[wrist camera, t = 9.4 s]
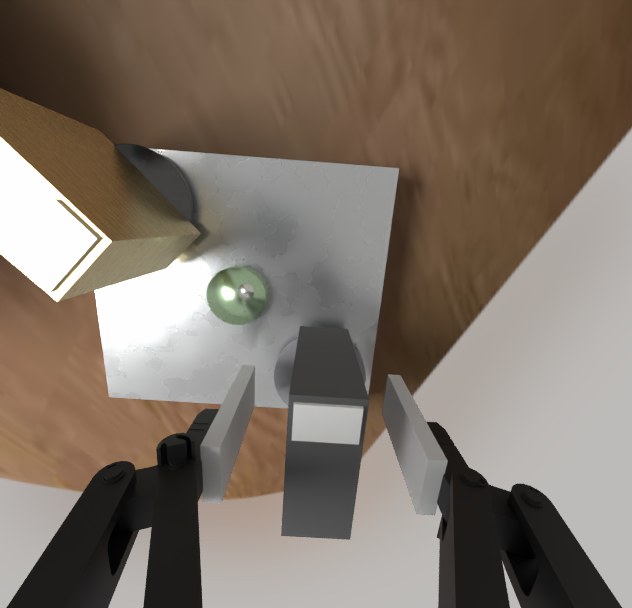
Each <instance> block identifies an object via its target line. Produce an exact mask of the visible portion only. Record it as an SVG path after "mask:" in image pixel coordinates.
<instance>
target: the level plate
mask: <svg viewBox="0 0 632 608" xmlns="http://www.w3.org/2000/svg"><path fill="white" fill-rule="evenodd" d="M150 150H153V151H155V152H157V153H159V154H160V155H162V156H164V157H165V158H167V159H168V160H169V161H170V162H171V163H172V164H174V165H175V166H176V168H177V169H178V170H179V171H180V172H181V174H182V175H183V177H184V178H185V180H186V182H187V184H188V186H189V189H190V192H191V195H192V199H193V207H194V214H193V222H192V225H193V226H194V227H195V228H196V229H197V230H198V231H199V232H200V233H201V234H200V235H199V236H198V237H197V238H196V239H195V240H194V241H193V242H192V243H191V244H190V245H189V246H188V247H187V248H186V249H185V250H184V251H183V252H182V253H181V254H180V256H179V257H178V258H177V259H176V260H175V261H174V262H173V263H172V264H171V265H170V266H169V267H168V268H167V269H164V270H161V271H157V272H154V273H151V274H148V275H144V276H141V277H138V278H134V279H131V280H128V281H124V282H121V283H118V284H115V285H111V286H108V287H105V288H101V289H98V290H95V295H96V303H97V310H98V318H99V325H100V333H101V340H102V348H103V355H104V362H105V370H106V377H107V385H108V392H109V397H116V398H132V399H147V400H163V401H179V402H195V403H211V404H222V403H223V401H224V399H225V397H226V395H227V394H228V392H229V390H230V388H231V386H232V384H233V382H234V380H235V378H236V376H237V374H238V372H239V371H240V369H241V367H242V365H253V366H255V405H254V406H258V407H274V408H288V406H287V405H286V404H285V403H284V402H283V400H282V399H281V398H280V396H279V394H278V392H277V390H276V387H275V383H274V369H275V366H276V362H277V359H278V357H279V355H280V353H281V352H282V350H283V349H284V348H285V347H286V346H287V345H288V344H289V343H290V342H291V341H293V340H294V339H296V338H298V335H299V329H300V326H307V327H322V328H337V329H348V331H349V334H350V337H351V341H352V344H353V346H354V347H355V348H356V349H357V351H358V352H359V354H360V356H361V358H362V360H363V363H364V367H365V372H366V381H365V387H366V391H367V394H368V393H369V386H370V378H371V371H372V364H373V356H374V349H375V342H376V334H377V327H378V320H379V312H380V305H381V298H382V290H383V283H384V276H385V268H386V261H387V254H388V246H389V239H390V232H391V224H392V217H393V210H394V202H395V195H396V188H397V180H398V173H399V168H389V167H377V166H364V165H351V164H339V163H326V162H313V161H300V160H288V159H275V158H262V157H250V156H237V155H224V154H212V153H199V152H186V151H173V150H161V149H150Z"/></svg>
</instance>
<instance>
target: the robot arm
mask: <svg viewBox="0 0 632 608" xmlns="http://www.w3.org/2000/svg"><path fill="white" fill-rule="evenodd" d="M254 405H255V366H253V365H242V367H241V369H240V371H239V372H238V374H237V376H236V378H235V380H234V382H233V384H232V386H231V388H230V390H229V392H228V394H227V395H226V397H225V399H224V401H223V403H222V405H221V407H220V409H205V410H203V411H202V412H201V413H199V414H198V415H197V416H196V418H195V420H194V421H193V424H191V426H190V428H189V430H188V431H187V433H176V434H173V435H170V436H168V437H166V438H165V439H163V440H162V441H161V442H160V443H159V444H158V447H157V449H156V450H157V461H158V465H156V466H153V467H149V468H144V469H138V470H135V467H134V464H132V463H130V462H128V461H120V462H115V463H112V464H110V465H107V466H105V467H104V468H103V469H101V470H100V471H98V473H97V474H96V475H95V476H94V477H93V478H92V480H91V481H90V483H89V484H88V486H87V487H86V489H85V490H84V492H83V493H82V495H81V497H80V498H79V500H78V501H77V503H76V504H75V506H74V507H73V509H72V510H71V512H70V513H69V515H68V516H67V518H66V519H65V521H64V522H63V524H62V525H61V527H60V528H59V530H58V531H57V533H56V534H55V536H54V537H53V539H52V540H51V542H50V543H49V545H48V546H47V548H46V549H45V551H44V552H43V554H42V555H41V557H40V558H39V560H38V561H37V563H36V564H35V566H34V567H33V569H32V570H31V572H30V573H29V575H28V576H27V578H26V579H25V581H24V582H23V584H22V585H21V587H20V588H19V590H18V591H17V593H16V594H15V596H14V597H13V599H12V601H11V602H10V603H9V605H8V606H7V608H108V606H109V604H110V601H111V599H112V596H113V594H114V591H115V588H116V586H117V584H118V581H119V579H120V577H121V574H122V572H123V569H124V566H125V564H126V561H127V559H128V557H129V554H130V552H131V549H132V547H133V544H134V542H135V539H136V537H137V534H138V532H139V530H141V529H145V528H149V527H152V530H151V540H150V549H149V559H148V569H147V578H146V588H145V598H144V607H143V608H202V587H201V567H200V545H199V522H198V500H199V498H200V496H201V493H202V501H203V502H211V503H221V502H222V500H223V497H224V494H225V491H226V488H227V485H228V482H229V479H230V476H231V473H232V470H233V467H234V464H235V461H236V458H237V455H238V453H239V450H240V447H241V444H242V441H243V438H244V435H245V432H246V429H247V426H248V423H249V420H250V417H251V414H252V411H253V408H254ZM382 415H383V418H384V421H385V424H386V427H387V430H388V433H389V435H390V438H391V441H392V444H393V447H394V450H395V453H396V456H397V459H398V462H399V465H400V467H401V470H402V473H403V476H404V479H405V482H406V485H407V488H408V491H409V494H410V496H411V499H412V502H413V505H414V508H415V511H416V514H423V515H435V513H436V508H437V504H438V506H439V508H440V511H441V513H442V518H441V522H440V526H439V530H438V535H437V538H439V539H440V557H439V558H440V559H439V561H440V562H439V606H438V608H510V606H509V600H508V594H507V588H506V582H505V577H504V570H503V564H504V566H505V569H506V571H507V574H508V576H509V579H510V581H511V584H512V586H513V588H514V591H515V594H516V596H517V599H518V601H519V603H520V606H521V608H622V607H621V606H620V604H619V603H618V601H617V600H616V598H615V597H614V595H613V594H612V592H611V591H610V589H609V588H608V586H607V585H606V583H605V582H604V580H603V579H602V577H601V576H600V574H599V573H598V571H597V570H596V568H595V567H594V565H593V564H592V562H591V561H590V559H589V558H588V556H587V555H586V553H585V552H584V550H583V549H582V547H581V546H580V544H579V543H578V541H577V540H576V538H575V537H574V535H573V534H572V533H571V531H570V529H569V528H568V526H567V525H566V523H565V522H564V520H563V519H562V517H561V516H560V514H559V513H558V511H557V510H556V508H555V507H554V505H553V504H552V503H551V501H550V500H549V499H548V498H547V497H546V496H545V495H544V494H543V493H541V492H540V491H539V490H537V489H535V488H533V487H531V486H528V485H525V484H515V485H513V487H512V490H511V492H509V491H506V490H503V489H500V488H497V487H494V486H491V485H489V484H488V482H487V481H486V479H485V478H484V477H483V476H482V475H481V474H479V473H478V472H477V471H475V470H473V469H471V468H469V467H468V465H467V464H466V462H465V460H464V459H463V457H462V456H461V454H460V453H459V451H458V449H457V448H456V446H454V443H453V441H452V440H451V439H450V436H449V435H448V433H447V432H446V430H445V429H444V428H443V427H442V426H440V425H439V424H438V423H437V422H426V421H425V419H424V417H423V415H422V413H421V412H420V410H419V408H418V406H417V404H416V403H415V401H414V399H413V397H412V395H411V394H410V392H409V390H408V388H407V386H406V384H405V383H404V381H403V379H402V377H401V375H390V374H388V377H387V383H386V390H385V396H384V403H383V409H382ZM502 561H503V564H502Z"/></svg>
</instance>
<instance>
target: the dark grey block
mask: <svg viewBox="0 0 632 608" xmlns="http://www.w3.org/2000/svg"><path fill="white" fill-rule="evenodd" d="M365 381H366V372H365V367H364V363H363V360H362V358H361V356H360V354H359V352H358V351H357V349H356V348H355V347H354V346H353V344H352V341H351V337H350V334H349V331H348V329H337V328H322V327H307V326H300V329H299V335H298V338H296V339H294V340H293V341H291V342H290V343H289V344H288V345H287V346H286V347H285V348H284V349H283V350H282V352H281V353H280V355H279V357H278V359H277V362H276V366H275V369H274V383H275V387H276V390H277V392H278V394H279V396H280V398H281V399H282V400H283V402H284V403H285V404H286V405H287V406H288V422H287V441H286V460H285V478H284V498H283V517H282V534H281V535H282V536H296V537H314V538H332V539H350V536H351V528H352V520H353V514H354V506H355V499H356V492H357V485H358V478H359V470H360V463H361V456H362V449H363V441H364V434H365V427H366V420H367V412H368V405H369V397H368V394H367V391H366V387H365Z"/></svg>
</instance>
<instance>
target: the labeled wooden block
mask: <svg viewBox="0 0 632 608" xmlns="http://www.w3.org/2000/svg"><path fill="white" fill-rule="evenodd" d="M193 214H194V207H193V199H192V195H191V192H190V189H189V186H188V184H187V182H186V180H185V178H184V177H183V175H182V174H181V172H180V171H179V170H178V169H177V168H176V166H175V165H174V164H172V163H171V162H170V161H169V160H168V159H167V158H165V157H164V156H162V155H160V154H159V153H157V152H155V151H153V150H150V149H148V148H146V147H143V146H139V145H134V144H119V145H114V144H113V143H112V142H111V141H110V140H109V139H108V138H107V137H106V136H105V135H104V134H103V133H102V132H101V131H99V130H97V129H95V128H92V127H90V126H88V125H85V124H83V123H81V122H78V121H76V120H74V119H71V118H69V117H67V116H64V115H62V114H59V113H57V112H55V111H52V110H50V109H48V108H45V107H43V106H41V105H38V104H36V103H34V102H31V101H29V100H27V99H24V98H22V97H20V96H17V95H15V94H13V93H10V92H8V91H6V90H3V89H1V88H0V254H1V255H2V256H4V257H5V258H6V259H7V260H8V261H10V262H11V263H12V264H13V265H14V266H15V267H17V268H18V269H19V270H20V271H21V272H23V273H24V274H25V275H26V276H27V277H28V278H30V279H31V280H32V281H33V282H34V283H36V284H37V285H38V286H39V287H40V288H41V289H43V290H44V291H45V292H46V293H47V294H49V295H50V296H51V297H52V298H53V299H54V300H56V301H57V302H59V301H62V300H65V299H68V298H72V297H75V296H78V295H82V294H85V293H88V292H91V291H95V290H98V289H101V288H105V287H108V286H111V285H115V284H118V283H121V282H124V281H128V280H131V279H134V278H138V277H141V276H144V275H148V274H151V273H154V272H157V271H161V270H164V269H167V268H168V267H169V266H170V265H171V264H172V263H173V262H174V261H175V260H176V259H177V258H178V257H179V256H180V254H181V253H182V252H183V251H184V250H185V249H186V248H187V247H188V246H189V245H190V244H191V243H192V242H193V241H194V240H195V239H196V238H197V237H198V236H199V235H200V234H201V233H200V232H199V231H198V230H197V229H196V228H195V227H194V226H193V225H192V222H193Z"/></svg>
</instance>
